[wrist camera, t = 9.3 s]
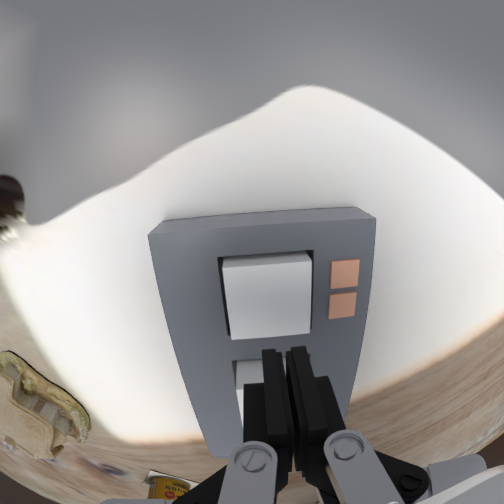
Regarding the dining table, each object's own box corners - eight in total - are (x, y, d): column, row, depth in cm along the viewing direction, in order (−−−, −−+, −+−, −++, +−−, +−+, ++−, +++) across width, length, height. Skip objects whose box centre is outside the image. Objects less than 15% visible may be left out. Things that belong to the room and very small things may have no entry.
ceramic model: (12, 393, 24) (-17, 438, 15) (-6, 337, 21) (-51, 387, 11) (94, 437, 26) (73, 495, 17) (87, 390, 22) (51, 463, 13)
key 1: (298, 239, 17) (311, 261, 14) (299, 302, 19) (309, 333, 15) (226, 245, 17) (222, 268, 14) (233, 307, 19) (231, 339, 15)
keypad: (355, 206, 17) (377, 218, 14) (330, 424, 24) (336, 448, 21) (163, 220, 17) (146, 235, 14) (214, 434, 24) (212, 459, 21)
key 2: (302, 346, 18) (312, 382, 15) (300, 388, 20) (307, 423, 16) (236, 352, 18) (236, 389, 15) (243, 393, 20) (243, 429, 16)
